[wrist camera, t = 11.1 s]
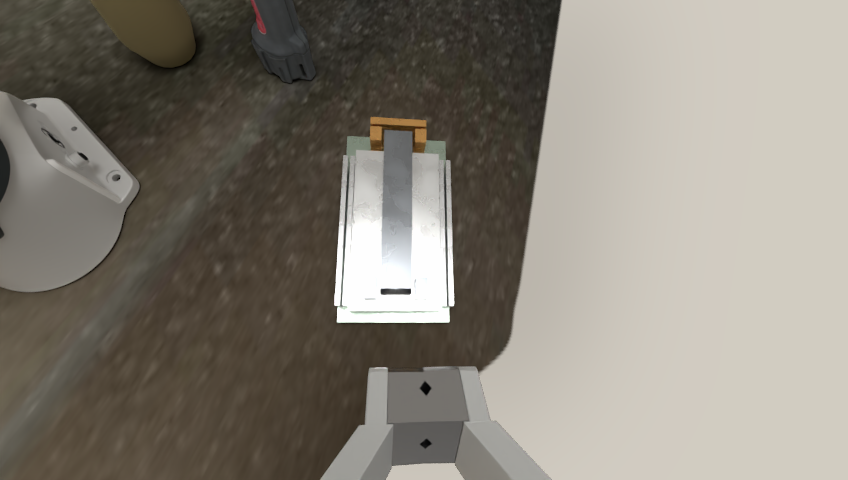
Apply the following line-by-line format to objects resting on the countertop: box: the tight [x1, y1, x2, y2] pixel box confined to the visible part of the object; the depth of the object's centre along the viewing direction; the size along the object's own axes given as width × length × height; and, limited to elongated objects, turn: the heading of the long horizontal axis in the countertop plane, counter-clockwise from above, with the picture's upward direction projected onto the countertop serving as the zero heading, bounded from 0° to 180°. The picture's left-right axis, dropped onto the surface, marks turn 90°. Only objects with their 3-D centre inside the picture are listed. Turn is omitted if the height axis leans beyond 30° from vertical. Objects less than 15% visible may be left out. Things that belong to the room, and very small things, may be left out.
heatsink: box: [335, 117, 454, 323], centre depth 38 cm, size 22×12×8 cm, turn 0°
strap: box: [380, 130, 412, 294], centre depth 36 cm, size 18×3×1 cm, turn 0°
